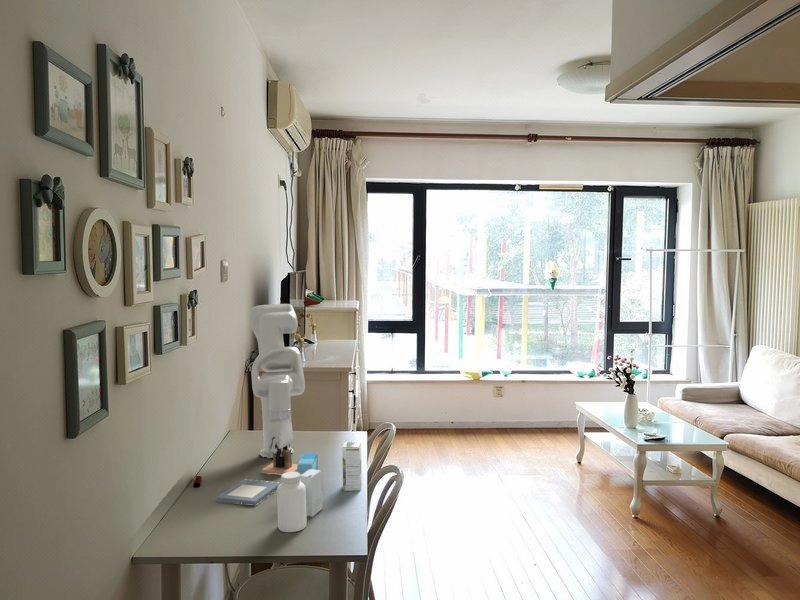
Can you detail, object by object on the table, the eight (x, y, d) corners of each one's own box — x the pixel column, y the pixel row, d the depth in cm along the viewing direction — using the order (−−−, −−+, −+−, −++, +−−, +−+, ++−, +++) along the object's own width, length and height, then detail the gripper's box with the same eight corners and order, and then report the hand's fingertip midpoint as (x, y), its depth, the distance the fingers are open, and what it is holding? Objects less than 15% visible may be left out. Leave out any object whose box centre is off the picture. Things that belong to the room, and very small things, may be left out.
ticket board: (244, 483, 204) (244, 478, 204) (281, 486, 200) (281, 482, 200) (216, 501, 189) (216, 496, 189) (255, 506, 185) (255, 501, 185)
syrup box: (344, 484, 200) (342, 441, 199) (362, 484, 200) (360, 441, 199) (343, 491, 194) (341, 447, 193) (361, 490, 194) (359, 446, 193)
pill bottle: (308, 530, 167) (306, 477, 166) (279, 535, 165) (276, 481, 164) (305, 518, 174) (302, 468, 173) (276, 523, 172) (274, 471, 171)
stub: (273, 466, 220) (272, 445, 220) (303, 468, 217) (302, 448, 216) (262, 473, 213) (261, 452, 212) (292, 476, 209) (291, 455, 208)
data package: (313, 502, 186) (311, 464, 185) (298, 502, 186) (296, 464, 186) (319, 487, 198) (317, 451, 197) (305, 487, 198) (303, 452, 197)
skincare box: (310, 507, 182) (308, 468, 182) (323, 509, 181) (322, 469, 180) (299, 515, 177) (298, 475, 176) (313, 517, 175) (311, 477, 174)
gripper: (282, 408, 222) (284, 457, 223) (258, 419, 207) (261, 472, 208) (300, 409, 220) (302, 459, 221) (278, 421, 204) (280, 474, 206)
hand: (282, 465), depth 214 cm, fingers closed on stub, 2 cm apart
